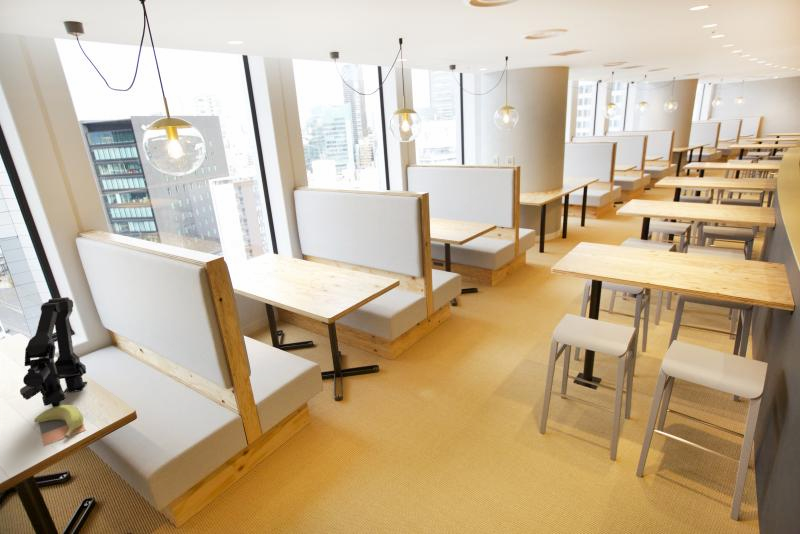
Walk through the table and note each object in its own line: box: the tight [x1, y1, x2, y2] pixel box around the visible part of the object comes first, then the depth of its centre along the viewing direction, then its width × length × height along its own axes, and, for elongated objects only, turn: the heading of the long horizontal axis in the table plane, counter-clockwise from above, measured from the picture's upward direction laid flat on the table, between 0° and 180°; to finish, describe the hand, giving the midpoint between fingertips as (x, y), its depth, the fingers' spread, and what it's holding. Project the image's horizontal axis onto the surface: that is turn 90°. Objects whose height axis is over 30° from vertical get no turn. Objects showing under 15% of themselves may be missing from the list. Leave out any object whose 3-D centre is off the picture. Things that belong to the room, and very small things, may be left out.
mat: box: [38, 407, 79, 435], centre depth 162 cm, size 10×12×1 cm
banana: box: [34, 404, 84, 439], centre depth 158 cm, size 14×6×20 cm
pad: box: [40, 422, 86, 447], centre depth 156 cm, size 8×12×1 cm, turn 133°
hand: (56, 408), depth 165 cm, fingers closed
